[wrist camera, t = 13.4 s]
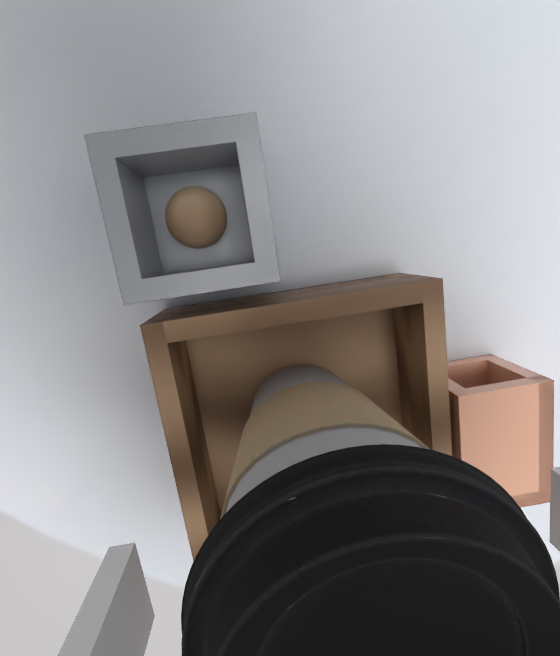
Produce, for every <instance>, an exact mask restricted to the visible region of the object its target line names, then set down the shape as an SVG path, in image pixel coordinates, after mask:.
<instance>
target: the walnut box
mask: <svg viewBox="0 0 560 656" xmlns="http://www.w3.org/2000/svg"><path fill="white" fill-rule="evenodd" d="M140 327H141V331H142V336H143V340H144V344H145V349H146V353H147V358H148V362H149V366H150V371H151V375H152V380H153V384H154V389H155V393H156V397H157V402H158V406H159V411H160V415H161V419H162V424H163V428H164V433H165V437H166V442H167V446H168V450H169V455H170V459H171V464H172V468H173V472H174V477H175V481H176V486H177V490H178V495H179V499H180V503H181V508H182V512H183V517H184V521H185V525H186V530H187V534H188V539H189V543H190V547H191V552H192V556H193V561H194V560H195V557H196V555H197V554H198V552H199V550H200V548H201V546H202V544H203V543H204V541H205V540H206V538H207V537H208V535H209V534H210V532H211V531H212V529H213V528H214V526H215V525H216V524H217V523H218V522H219V520H220V517H221V513H222V509H223V505H224V501H225V498H226V494H227V490H228V486H229V482H230V478H231V475H232V471H233V467H234V463H235V459H236V455H237V452H238V448H239V444H240V440H241V436H242V432H243V429H244V426H245V424H246V422H247V420H248V418H249V416H250V413H251V409H252V405H253V401H254V398H255V394H256V392H257V390H258V388H259V386H260V385H261V384H262V382H263V381H264V380H265V379H266V378H267V377H269V376H270V375H271V374H273V373H274V372H276V371H278V370H280V369H282V368H285V367H289V366H292V365H300V364H312V365H317V366H321V367H323V368H325V369H327V370H330V371H331V372H332V373H333V374H335V375H336V376H337V377H338V378H339V379H341V380H342V381H343V382H344V383H345V384H347V385H348V386H350V387H352V388H354V389H356V390H358V391H360V392H361V393H362V394H364V395H365V396H366V397H367V398H369V399H370V400H371V401H372V402H373V403H375V404H376V405H377V406H378V407H380V408H381V409H382V410H383V411H384V412H386V413H387V414H388V415H389V416H390V417H392V418H393V419H394V420H395V421H397V422H398V423H399V424H400V425H401V426H403V427H404V428H405V429H406V430H408V431H409V432H410V433H411V434H412V435H414V436H415V437H416V438H417V439H418V440H420V441H421V442H422V443H423V444H424V445H426V446H427V447H428V448H429V449H430V450H435V451H438V452H441V453H444V454H447V455H450V456H452V444H451V426H450V407H449V389H448V370H447V352H446V333H445V315H444V297H443V279H442V278H434V277H427V276H419V275H411V274H403V273H398V274H391V275H385V276H378V277H372V278H365V279H359V280H352V281H346V282H339V283H332V284H326V285H319V286H313V287H306V288H300V289H293V290H287V291H280V292H274V293H267V294H261V295H254V296H248V297H241V298H234V299H228V300H221V301H215V302H208V303H202V304H195V305H189V306H182V307H176V308H169V309H165V310H163V311H162V312H160V313H158V314H157V315H155V316H154V317H152V318H151V319H149V320H148V321H146V322H145V323H143V324H141V325H140Z"/></svg>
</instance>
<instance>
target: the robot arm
mask: <svg viewBox="0 0 560 656" xmlns="http://www.w3.org/2000/svg"><path fill="white" fill-rule="evenodd" d="M550 543H551V544H552V545H553V546H554V547H556V548H557V549H558V550H559V551H560V467H556V468H551V495H550ZM153 620H154V612H153V608H152V605H151V601H150V597H149V594H148V590H147V586H146V582H145V579H144V575H143V571H142V567H141V564H140V560H139V556H138V552H137V549H136V545H135V543H131V544H125V545H119V546H114V547H109V549H108V551H107V553H106V555H105V557H104V560H103V562H102V564H101V566H100V568H99V570H98V572H97V574H96V576H95V578H94V581H93V583H92V585H91V587H90V589H89V591H88V593H87V595H86V597H85V599H84V602H83V604H82V606H81V608H80V610H79V612H78V614H77V616H76V618H75V621H74V622H73V625H72V627H71V629H70V631H69V633H68V635H67V637H66V640H65V641H64V643H63V646H62V648H61V650H60V652H59V654H58V656H144V654H145V650H146V646H147V642H148V638H149V635H150V631H151V627H152V623H153Z"/></svg>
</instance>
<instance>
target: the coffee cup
mask: <svg viewBox="0 0 560 656" xmlns="http://www.w3.org/2000/svg"><path fill="white" fill-rule="evenodd" d="M182 602H183V603H182V612H181V622H182V623H181V624H182V656H560V597H559V587H558V581H557V577H556V572H555V569H554V566H553V563H552V560H551V557H550V554H549V552H548V550H547V548H546V546H545V544H544V542H543V540H542V539H541V537H540V535H539V534H538V532H537V531H536V529H535V528H534V527H533V526H532V524H531V523H530V522H529V520H528V519H527V518H526V516H525V515H524V513H523V511H522V510H521V508H520V507H519V505H518V504H517V503H516V502H515V500H514V499H513V498H512V496H511V495H510V494H509V493H508V492H507V491H506V490H505V489H504V488H503V487H502V486H501V485H499V484H498V483H497V482H496V481H495V480H494V479H492V478H491V477H490V476H488V475H487V474H485V473H484V472H482V471H481V470H479V469H478V468H476V467H474V466H472V465H470V464H469V463H467V462H465V461H462V460H460V459H458V458H455V457H453V456H450V455H447V454H444V453H441V452H438V451H435V450H430V449H429V448H428V447H427V446H426V445H424V444H423V443H422V442H421V441H420V440H418V439H417V438H416V437H415V436H414V435H412V434H411V433H410V432H409V431H408V430H406V429H405V428H404V427H403V426H401V425H400V424H399V423H398V422H397V421H395V420H394V419H393V418H392V417H390V416H389V415H388V414H387V413H386V412H384V411H383V410H382V409H381V408H380V407H378V406H377V405H376V404H375V403H373V402H372V401H371V400H370V399H369V398H367V397H366V396H365V395H364V394H362V393H361V392H360V391H358V390H356V389H354V388H352V387H350V386H348V385H347V384H345V383H344V382H343V381H342V380H341V379H339V378H338V377H337V376H336V375H335V374H333V373H332V372H331V371H330V370H327V369H325V368H323V367H321V366H317V365H312V364H300V365H292V366H289V367H285V368H282V369H280V370H278V371H276V372H274V373H273V374H271V375H270V376H269V377H267V378H266V379H265V380H264V381H263V382H262V384H261V385H260V386H259V388H258V390H257V392H256V394H255V398H254V401H253V405H252V409H251V413H250V416H249V418H248V420H247V422H246V424H245V426H244V429H243V432H242V436H241V440H240V444H239V448H238V452H237V455H236V459H235V463H234V467H233V471H232V475H231V478H230V482H229V486H228V490H227V494H226V498H225V501H224V505H223V509H222V513H221V517H220V520H219V522H218V523H217V524H216V525H215V526H214V528H213V529H212V531H211V532H210V534H209V535H208V537H207V538H206V540H205V541H204V543H203V544H202V546H201V548H200V550H199V552H198V554H197V555H196V557H195V560H194V562H193V565H192V567H191V569H190V572H189V575H188V578H187V582H186V585H185V590H184V596H183V601H182Z"/></svg>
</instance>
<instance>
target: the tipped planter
mask: <svg viewBox="0 0 560 656" xmlns="http://www.w3.org/2000/svg"><path fill="white" fill-rule="evenodd" d="M447 370H448V389H449V407H450V426H451V444H452V456H453V457H455V458H458V459H460V460H462V461H465V462H467V463H469V464H470V465H472V466H474V467H476V468H478V469H479V470H481V471H482V472H484V473H485V474H487V475H488V476H490V477H491V478H492V479H494V480H495V481H496V482H497V483H498V484H499V485H501V486H502V487H503V488H504V489H505V490H506V491H507V492H508V493H509V494H510V495H511V496H512V498H513V499H514V500H515V502H516V503H517V504H518V505H519V507H526V506H531V505H536V504H542V503H547V502H550V495H551V468H553V434H554V380H552V379H549V378H547V377H545V376H542V375H540V374H537V373H535V372H533V371H530V370H528V369H525V368H523V367H521V366H518V365H516V364H513V363H511V362H509V361H506V360H504V359H501V358H499V357H497V356H494V355H492V354H490V355H484V356H478V357H472V358H466V359H460V360H454V361H448V362H447Z"/></svg>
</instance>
